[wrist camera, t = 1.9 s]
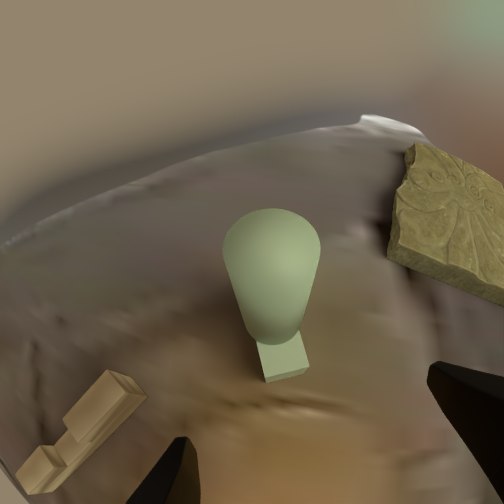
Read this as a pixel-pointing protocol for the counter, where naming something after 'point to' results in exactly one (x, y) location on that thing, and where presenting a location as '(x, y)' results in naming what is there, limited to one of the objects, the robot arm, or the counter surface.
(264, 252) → the green joystick knob
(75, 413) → the birch slotted plate
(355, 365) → the counter surface
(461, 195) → the decorative tile
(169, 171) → the counter surface
